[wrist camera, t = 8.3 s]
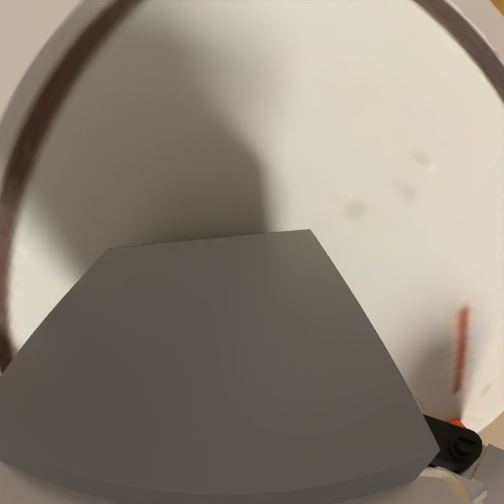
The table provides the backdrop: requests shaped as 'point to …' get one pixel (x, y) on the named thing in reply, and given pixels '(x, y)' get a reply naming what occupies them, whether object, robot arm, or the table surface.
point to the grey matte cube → (212, 381)
